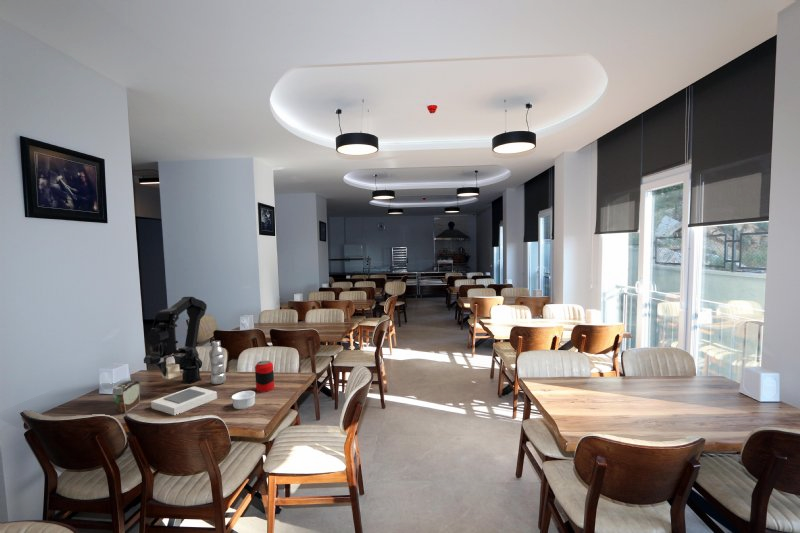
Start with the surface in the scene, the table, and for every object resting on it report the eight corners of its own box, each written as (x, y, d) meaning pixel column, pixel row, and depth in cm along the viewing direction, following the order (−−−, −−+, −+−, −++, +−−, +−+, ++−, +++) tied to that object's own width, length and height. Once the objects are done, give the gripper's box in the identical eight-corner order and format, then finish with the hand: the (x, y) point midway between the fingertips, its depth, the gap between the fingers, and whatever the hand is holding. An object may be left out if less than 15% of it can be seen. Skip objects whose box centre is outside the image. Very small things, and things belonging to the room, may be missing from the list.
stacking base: (194, 392, 171) (193, 385, 170) (217, 398, 163) (216, 390, 163) (151, 408, 155) (151, 400, 155) (174, 415, 147) (174, 407, 147)
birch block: (173, 374, 173) (172, 363, 173) (180, 375, 171) (179, 364, 170) (162, 377, 169) (161, 366, 168) (168, 379, 166) (167, 367, 166)
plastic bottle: (207, 385, 179) (204, 342, 178) (219, 380, 185) (216, 339, 184) (217, 386, 177) (215, 343, 176) (229, 381, 183) (226, 340, 182)
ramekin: (255, 408, 151) (254, 397, 151) (230, 411, 149) (230, 400, 149) (256, 399, 160) (256, 389, 160) (233, 402, 157) (233, 392, 157)
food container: (126, 403, 161) (124, 379, 161) (141, 402, 162) (140, 378, 161) (106, 416, 149) (104, 390, 149) (123, 414, 150) (121, 389, 149)
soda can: (262, 385, 176) (260, 359, 175) (277, 386, 174) (276, 360, 173) (252, 392, 168) (251, 365, 168) (268, 392, 167) (266, 365, 166)
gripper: (178, 333, 181) (180, 365, 182) (135, 342, 165) (138, 378, 165) (192, 335, 175) (195, 368, 176) (149, 345, 159) (152, 382, 160)
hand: (170, 374), depth 170 cm, fingers closed on birch block, 5 cm apart
